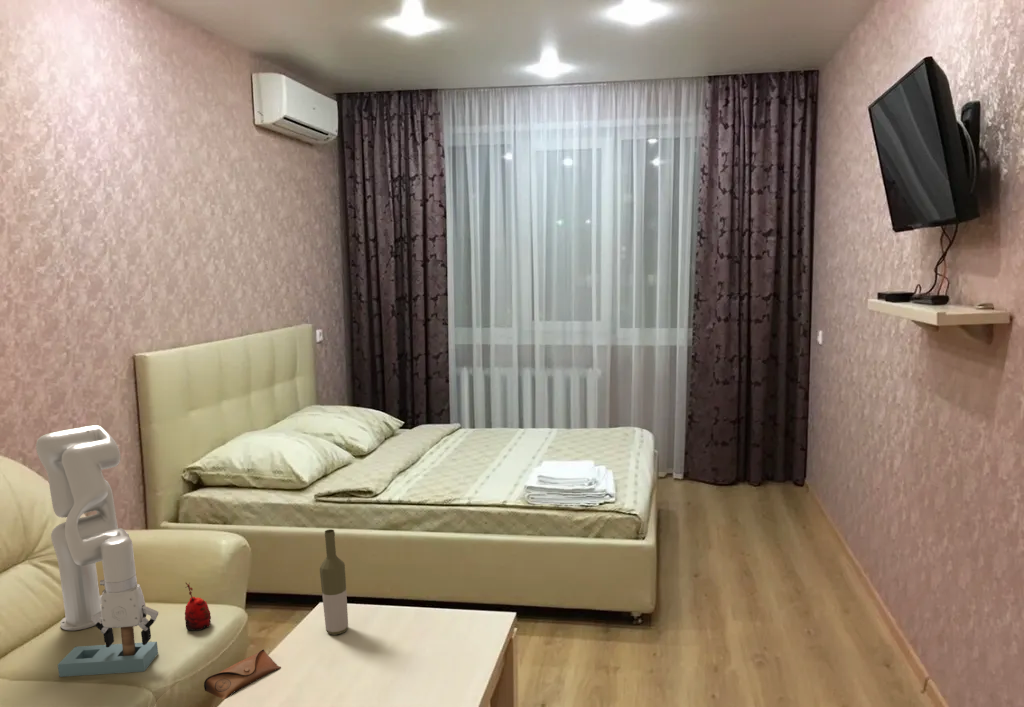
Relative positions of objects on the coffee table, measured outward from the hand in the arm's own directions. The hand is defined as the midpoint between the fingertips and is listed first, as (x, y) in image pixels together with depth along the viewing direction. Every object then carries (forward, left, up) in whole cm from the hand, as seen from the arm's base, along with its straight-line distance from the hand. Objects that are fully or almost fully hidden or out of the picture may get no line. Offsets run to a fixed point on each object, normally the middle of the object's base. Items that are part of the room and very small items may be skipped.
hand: (128, 643), depth 206 cm
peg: (0, 0, -6) cm, 6 cm away
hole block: (0, -6, -6) cm, 8 cm away
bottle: (-11, +53, -6) cm, 55 cm away
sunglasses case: (+11, +34, -6) cm, 36 cm away
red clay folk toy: (-19, +11, -6) cm, 23 cm away
